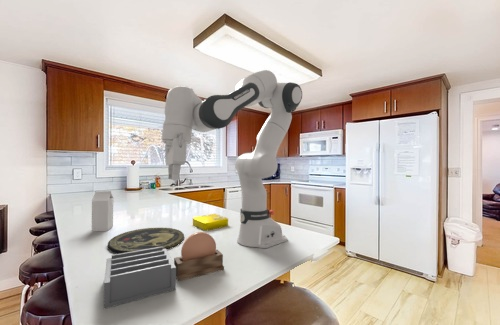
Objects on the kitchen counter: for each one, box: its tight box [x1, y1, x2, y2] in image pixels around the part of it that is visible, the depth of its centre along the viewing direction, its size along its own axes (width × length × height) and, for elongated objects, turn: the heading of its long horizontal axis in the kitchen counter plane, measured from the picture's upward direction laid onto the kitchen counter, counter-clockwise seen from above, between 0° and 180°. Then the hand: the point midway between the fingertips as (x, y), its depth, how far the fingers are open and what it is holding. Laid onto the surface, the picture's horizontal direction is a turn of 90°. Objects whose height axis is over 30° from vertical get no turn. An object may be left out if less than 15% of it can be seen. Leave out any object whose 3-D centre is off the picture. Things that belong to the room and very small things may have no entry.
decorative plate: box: [106, 227, 185, 254], centre depth 97 cm, size 30×2×30 cm
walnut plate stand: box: [173, 249, 225, 282], centre depth 72 cm, size 14×7×4 cm, turn 120°
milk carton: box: [91, 190, 114, 232], centre depth 112 cm, size 7×7×19 cm
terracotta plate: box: [180, 231, 217, 261], centre depth 72 cm, size 11×1×11 cm, turn 120°
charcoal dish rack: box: [103, 247, 177, 309], centre depth 63 cm, size 16×15×7 cm
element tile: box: [192, 213, 229, 231], centre depth 122 cm, size 15×15×5 cm
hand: (172, 179), depth 71 cm, fingers open, 8 cm apart
